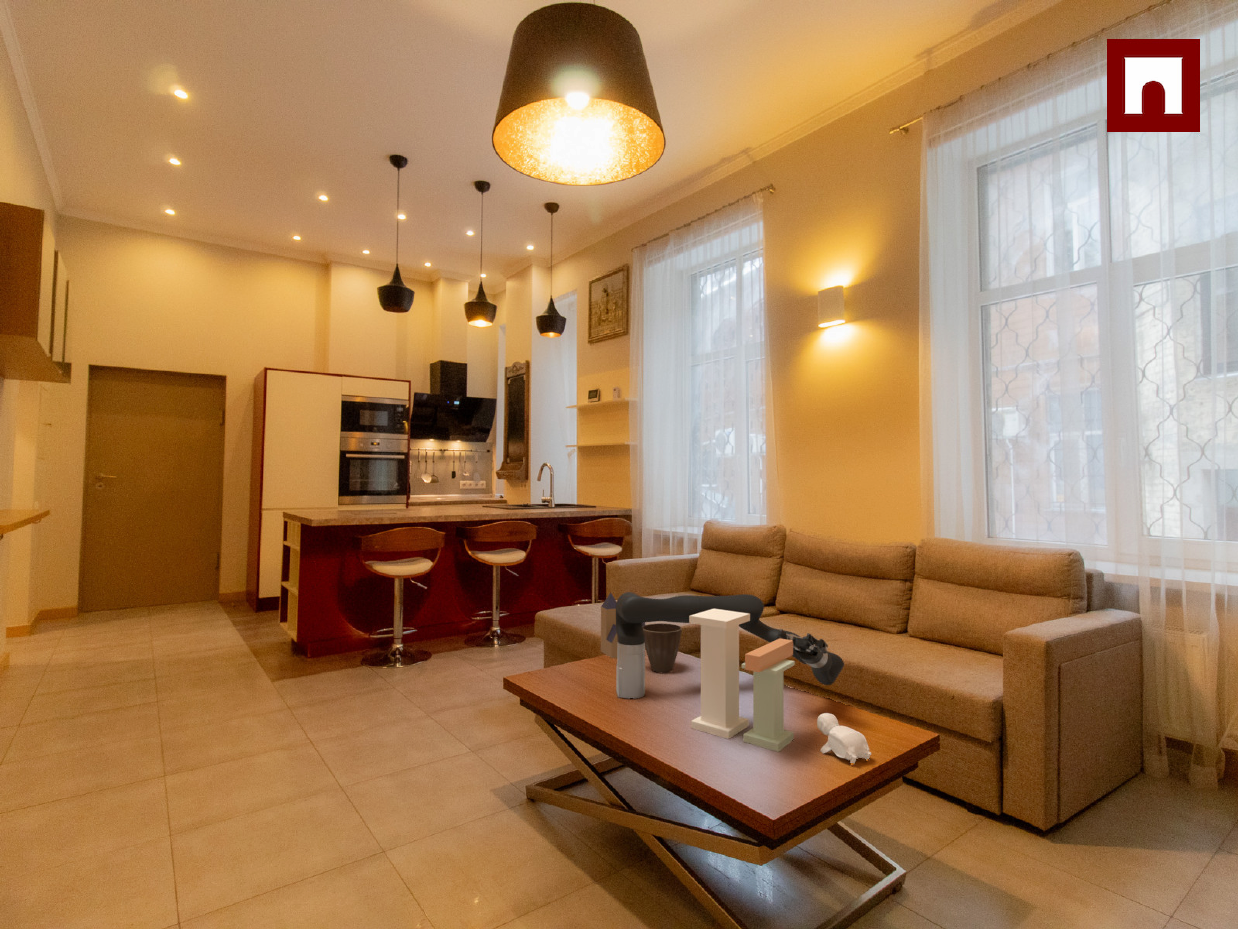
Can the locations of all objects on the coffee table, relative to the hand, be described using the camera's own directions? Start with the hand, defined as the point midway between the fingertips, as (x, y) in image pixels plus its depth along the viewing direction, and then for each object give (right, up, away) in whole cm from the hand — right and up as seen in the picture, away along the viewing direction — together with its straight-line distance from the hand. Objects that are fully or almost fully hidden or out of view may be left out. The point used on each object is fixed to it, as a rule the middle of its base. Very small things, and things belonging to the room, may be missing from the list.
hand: (793, 634), depth 180 cm
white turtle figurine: (+6, -25, -22) cm, 34 cm away
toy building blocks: (-48, -29, +74) cm, 93 cm away
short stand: (-11, -25, -14) cm, 31 cm away
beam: (-10, -4, -13) cm, 17 cm away
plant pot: (-36, -28, +50) cm, 67 cm away
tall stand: (-23, -25, -5) cm, 34 cm away
